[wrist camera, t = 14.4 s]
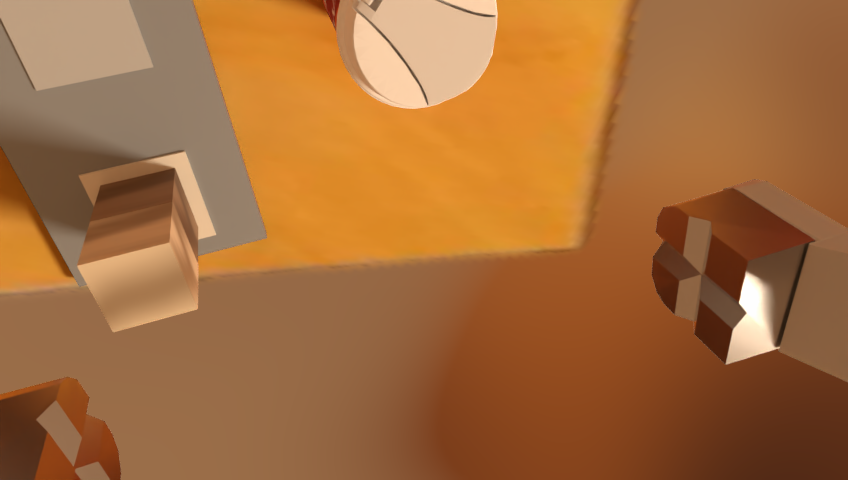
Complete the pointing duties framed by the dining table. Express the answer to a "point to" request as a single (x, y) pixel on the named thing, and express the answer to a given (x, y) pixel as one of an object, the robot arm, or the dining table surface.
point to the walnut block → (147, 199)
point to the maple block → (140, 266)
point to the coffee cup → (414, 46)
